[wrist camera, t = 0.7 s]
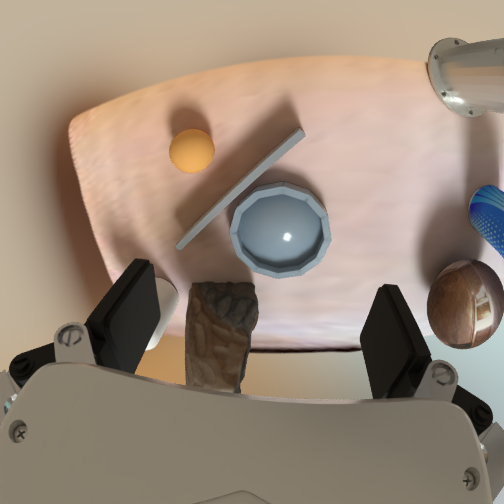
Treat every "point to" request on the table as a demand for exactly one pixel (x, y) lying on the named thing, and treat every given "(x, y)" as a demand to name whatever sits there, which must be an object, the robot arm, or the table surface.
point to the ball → (191, 150)
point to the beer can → (488, 215)
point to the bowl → (280, 230)
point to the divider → (241, 185)
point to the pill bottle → (164, 308)
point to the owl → (219, 334)
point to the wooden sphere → (465, 304)
